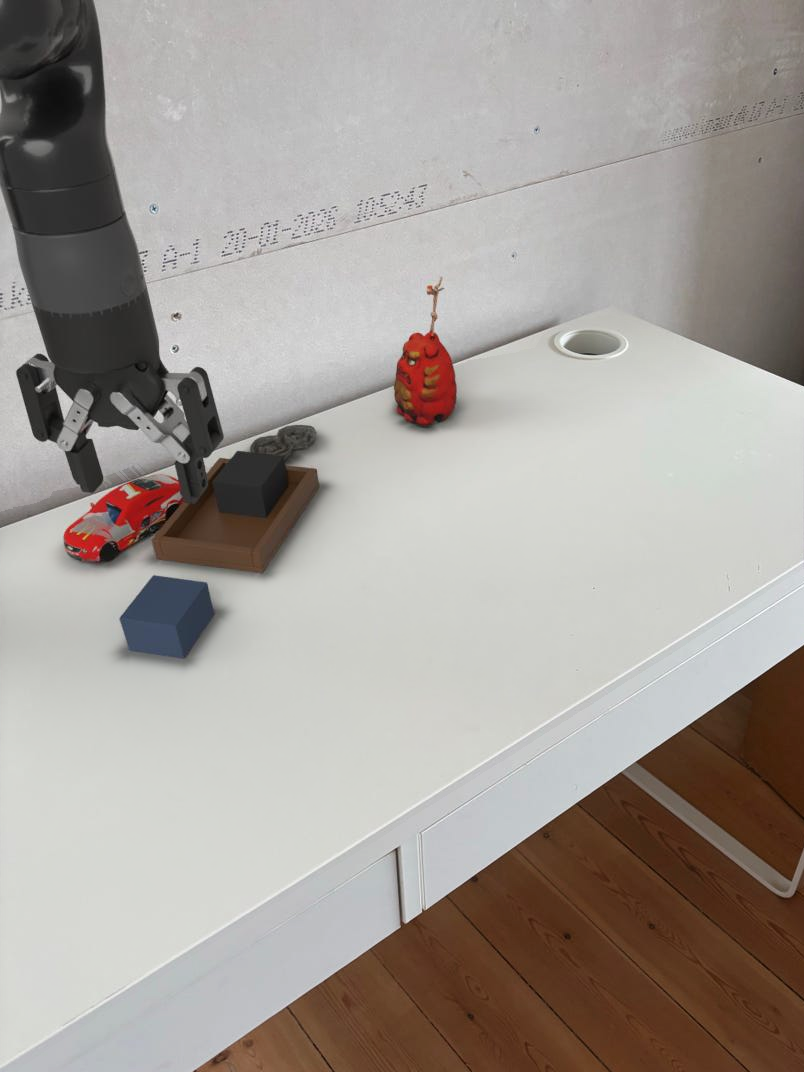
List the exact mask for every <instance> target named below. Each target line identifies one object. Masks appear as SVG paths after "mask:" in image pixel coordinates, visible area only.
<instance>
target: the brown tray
mask: <svg viewBox="0 0 804 1072" xmlns="http://www.w3.org/2000/svg"><path fill="white" fill-rule="evenodd" d="M230 459H231V458H225V457H218V459H217V460H216V461H215V463H214V464H213V465H212V466H211V467H210V469H209V470H208V471H206V474H207V478H208V487H207V489H206V490H205V491H204V493H203V494H202V495H201V497H200V498H199V499H198V500H197V502H196V503H195V504H191V503H185V502H184V501H183V502H182V504H181V505H180V506H179V507H178V508H177V510H176V511H175V512H174V513H173V514H172V516H171V517H170V518H169V519H168V520H167V521H166V523H165V524H164V525H163V526H162V527H160V528H159V530H158V531H157V533H156V534H155V535H154V536H153V537H152V538H151V543H152V547H153V552H154V554H155V555H154V556H155V559H156V560H161V561H169V562H175V563H183V564H190V565H191V564H192V565H197V566H205V567H206V566H207V567H213V568H221V569H229V570H234V571H235V570H236V571H243V572H249V573H259V574H263V573H264V572H265V571H266V569H267V568H268V567H269V565H270V563H271V562H272V560H273V558H274V557H275V555H276V554H277V553H278V551H279V549H280V548H281V546H282V545H283V543H284V542H285V540H286V539H287V538H288V536H289V534H290V533H291V531H292V530H293V528H294V527H295V525H296V523H297V522H298V521H299V519H300V517H301V516H302V514H303V513H304V512H305V510H306V509H307V507H308V506H309V504H310V502H311V501H312V499H313V498H314V496H315V495H316V493H317V492H318V491H319V489H320V482H319V474H318V468H314V467H305V466H297V465H288V464H285V465H286V472H287V478H288V484H289V486H288V488H287V489H286V491H285V492H284V493H283V495H282V496H281V498H280V499H279V501H278V502H277V503H276V505H275V506H274V508H273V509H272V510H271V512H270V513H269V515H268V516H267V518H263V517H255V516H247V515H238V514H230V513H222V512H219V511H218V506H217V501H216V497H215V492H214V487H213V482H212V481H213V480H214V479H215V478H216V476H217V475H218V474H219V473H220V471H221V470H222V469H223V468H224V467H225V465H226V464H227V463H228V462H229V460H230Z"/></svg>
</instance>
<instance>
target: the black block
mask: <svg viewBox="0 0 804 1072" xmlns="http://www.w3.org/2000/svg"><path fill="white" fill-rule="evenodd" d="M229 459H230V460H229V462H228V463H227V464H226V465H225V467H224V468H223V469H222V470H221V471H220V473H219V474H218V475H217V476H216V478H215V479H214V480H213V481H212V482H213V487H214V492H215V497H216V501H217V506H218V511H219V512H222V513H230V514H238V515H247V516H255V517H263V518H267V516H268V515H269V513H270V512H271V510H272V509H273V508H274V506H275V505H276V503H277V502H278V501H279V499H280V498H281V496H282V495H283V493H284V492H285V491H286V489H287V488H288V486H289V484H288V478H287V472H286V465H287V464H286V459H284V456H281V455H272V454H263V453H254V452H250V451H244V450H236V452H235V453H234V454H233V455H232V457H231V458H229Z"/></svg>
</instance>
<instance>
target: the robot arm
mask: <svg viewBox="0 0 804 1072" xmlns="http://www.w3.org/2000/svg"><path fill="white" fill-rule="evenodd" d="M99 23H100V22H99V18H98V12H97V8H96V5H95V1H94V0H0V101H1V105H0V106H1V107H0V108H1V110H0V191H1V195H2V197H3V200H4V204H5V207H6V210H7V213H8V217H9V220H10V223H11V227H12V231H13V235H14V240H15V246H16V253H17V259H18V262H19V266H20V270H21V273H22V277H23V279H24V280H23V281H24V284H25V286H26V289H27V293H28V296H29V299H30V302H31V305H32V308H33V312H34V316H35V319H36V322H37V325H38V328H39V331H40V335H41V339H42V341H43V344H44V348H45V352H46V354H47V356H46V355H44V354H42V353H36V354H35V355H33V356H31V357H30V358H29V359H28V360H26V361H25V362H24V363H23V364H22V365H20V366H19V367H18V368H17V369H16V370H15V375H16V378H17V382H18V385H19V389H20V393H21V397H22V399H23V404H24V407H25V410H26V414H27V417H28V418H27V419H28V422H29V425H30V428H31V432H32V433H31V434H32V435H33V437H34V438H35V439H36V441H39V442H42V443H45V442H47V441H50V442H53V443H55V444H56V445H57V447H58V448H59V449H60V450H62V451H63V452H64V454H65V457H66V460H67V464H68V467H69V469H70V474H71V476H72V479H73V481H74V482H75V483H76V485H79V487H80V490H81V492H83V493H87V494H88V493H90V494H93V493H95V492H96V490H98V489H99V488H100V486H101V485H103V482H104V474H103V471H102V467H101V464H100V461H99V456H98V453H97V450H96V447H95V443H94V440H93V438H87V435H88V434H89V432H90V429H91V428H92V426H93V424H94V423H96V424H97V426H98V427H101V428H113V427H119V428H122V429H125V430H130V431H139V430H140V431H142V433H143V434H145V436H146V437H147V438H148V439H149V440H150V441H151V442H153V443H155V444H160V445H161V446H163V447H164V449H165V450H166V451H167V452H168V453H169V454H170V456H172V457H173V458H174V460H175V461H174V463H173V464H174V467H175V472H176V476H177V480H179V484H180V489H181V493H182V497H183V501H184V502H185V503H191V504H195V503H196V502H197V500H198V499H199V498H200V497H201V495H202V494H203V493H204V491H205V490H206V489H207V487H208V478H207V470H206V465H205V460H204V459H207V458H209V457H211V455H212V454H213V453H214V451H215V450H216V449H217V448H218V447H219V445H220V444H221V443H222V442H223V441H224V439H225V435H224V432H223V428H222V424H221V419H220V416H219V412H218V408H217V405H216V401H215V397H214V394H213V389H212V387H211V382H210V378H209V375H208V372H207V371H206V369H204V368H202V367H201V366H195V367H193V368H192V369H191V371H189V372H169V370H168V368H167V367H166V366H165V364H164V362H163V361H162V359H161V356H160V354H161V353H160V338H159V333H158V329H157V325H156V319H155V316H154V312H153V308H152V304H151V299H150V295H149V289H148V286H147V285H148V284H147V281H146V277H145V273H144V269H143V268H144V267H143V264H142V260H141V255H140V251H139V247H138V244H137V242H136V241H137V240H136V238H135V236H134V233H133V232H134V231H133V230H132V227H131V225H130V222H129V219H128V215H127V213H126V209H125V205H124V200H123V196H122V191H121V187H120V182H119V179H118V174H117V170H116V166H115V162H114V157H113V155H112V151H111V147H110V144H109V140H108V134H107V133H108V132H107V100H106V98H107V97H106V87H105V72H104V59H103V57H104V56H103V47H102V37H101V30H100V24H99ZM57 386H58V387H59V388H60V390H61V391H62V392H63V393H65V394H66V396H67V397H68V398H69V399H70V400H71V401H72V404H71V406H70V408H69V410H68V412H67V414H66V416H65V418H64V415H63V411H62V407H61V403H60V398H59V394H58V391H57ZM169 392H170V393H171V394H172V395H173V396H174V398H175V401H174V400H173V399H172V398H171V397H170V396H169V395H168V393H169ZM180 407H182V409H181V408H180ZM158 411H159V412H160V414H161V415H162V417H163V421H162V422H159V421H158V420H156V418H154V417H156V415H157V413H158Z"/></svg>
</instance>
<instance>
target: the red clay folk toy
mask: <svg viewBox="0 0 804 1072" xmlns="http://www.w3.org/2000/svg"><path fill="white" fill-rule="evenodd" d="M442 281H443V276H440V277H439V281H438V283H437V284H436V285H435V286H433V285H432V284H431V285H430V284H429V285H427V286H426V294H427V295H428V296H430V295H431V296H433V298H432V303H433V304H432V312H430V317H431V323H430V327H429V331H428V332H427V333H426V334H424V335H423V333H420V332H413V333H411V334H410V335H409V338H408V340H407V341H405V342H404V343H403V346H402V354H401V356H400V358H399V359H398V360H397V363H396V371H395V380H394V382H393V390H394V392H393V393H394V394H393V395H394V401H395V403H396V404H397V405H396V413H397V414H399V415H400V416H403V417H404V420H405V421H407V422H408V423H410V424H412V425H415V426H417V427H421V428H422V427H423V428H429V427H432V425H433V424H435V423H436V422H437V423H441V422H443V421H445V420H447V419H448V418H449V417H450V416H451V415H452V413H453V411H454V410H455V406H456V404H457V398H458V397H457V393H458V391H457V388H458V387H457V381H456V372H455V368H454V365H453V360H452V358H451V355H450V353H449V351H448V349H446V346H445V345H444V344H443V343H442V341H441V340H440V338H439V336H438V335H439V334H437V333H436V332H435V322H436V321H437V319H439V318H438V314H437V312H436V309H437V304H438V297H439V292H441V291H443V290H445V288H444V287H440V286H441V284H442Z"/></svg>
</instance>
